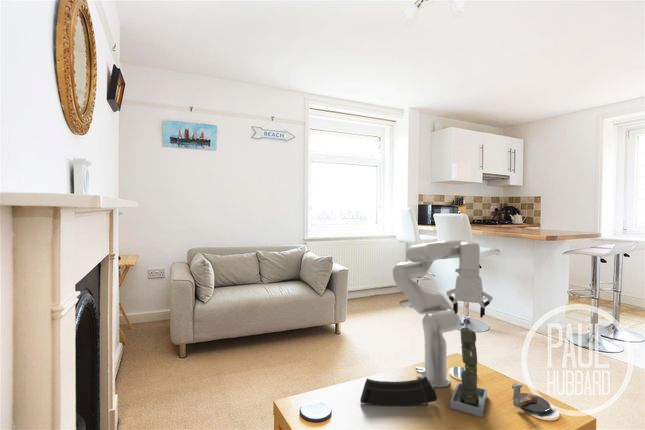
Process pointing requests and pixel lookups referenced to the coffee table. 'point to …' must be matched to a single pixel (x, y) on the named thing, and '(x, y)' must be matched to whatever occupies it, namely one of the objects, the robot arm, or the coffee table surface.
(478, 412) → the tray
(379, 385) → the magazine
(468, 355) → the mechanical leg
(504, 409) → the coffee table surface
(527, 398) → the crank
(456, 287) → the robot arm
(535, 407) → the crank base
